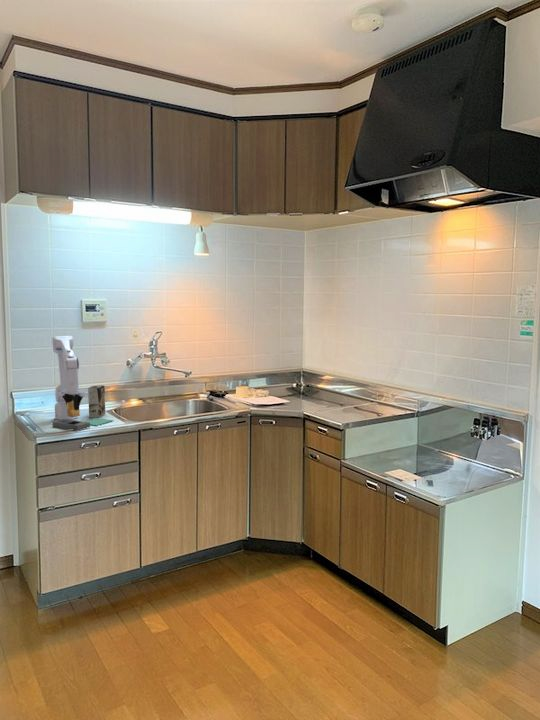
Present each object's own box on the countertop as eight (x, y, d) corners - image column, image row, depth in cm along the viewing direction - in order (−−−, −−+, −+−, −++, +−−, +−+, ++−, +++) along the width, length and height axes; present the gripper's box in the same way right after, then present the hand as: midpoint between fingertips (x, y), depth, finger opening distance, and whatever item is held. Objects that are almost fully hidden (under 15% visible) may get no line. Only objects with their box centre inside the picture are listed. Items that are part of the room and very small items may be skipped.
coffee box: (100, 417, 294) (99, 388, 292) (88, 417, 294) (87, 387, 292) (106, 413, 303) (104, 385, 301) (94, 413, 303) (93, 385, 301)
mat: (79, 423, 281) (78, 422, 281) (96, 418, 291) (96, 417, 291) (96, 426, 275) (96, 425, 275) (113, 421, 286) (113, 420, 286)
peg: (67, 416, 271) (66, 402, 270) (73, 414, 275) (73, 401, 274) (73, 417, 269) (72, 403, 268) (79, 415, 273) (79, 401, 272)
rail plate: (52, 426, 274) (52, 421, 274) (65, 423, 281) (65, 418, 281) (77, 431, 266) (77, 425, 266) (89, 427, 273) (89, 422, 273)
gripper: (55, 382, 270) (56, 409, 271) (76, 384, 263) (77, 412, 265) (66, 380, 276) (67, 406, 277) (87, 382, 269) (88, 409, 271)
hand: (73, 409), depth 272 cm, fingers closed on peg, 4 cm apart
